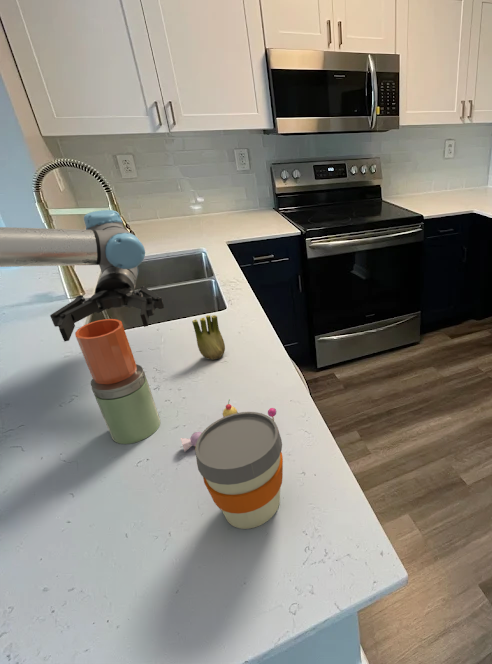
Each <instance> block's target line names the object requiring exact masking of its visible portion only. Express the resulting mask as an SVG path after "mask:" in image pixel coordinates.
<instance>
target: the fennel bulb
mask: <svg viewBox="0 0 492 664" xmlns="http://www.w3.org/2000/svg"><path fill="white" fill-rule="evenodd" d="M191 322H192V323H191V324H192V325H193V329H194V333H195V338H196V344H197V348H198V350H199V353H200V354H201V355H202V357H203V358H204V359H208V360H212V361H214V360H219V359H221V358H222V357H223V355H224V354H225V351H226V345H225V340H224V337H223V335H222V333H221V330H220V327H219V321H218V316H217V315H215V314H213V315H208V314H207V315H205V317H201V318H200V319H199V321H198V320H197V319H196V318H195V319H193V320H192V321H191ZM199 322H200V324H199ZM200 327H201V328H200Z"/></svg>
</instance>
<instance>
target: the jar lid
mask: <svg viewBox="0 0 492 664" xmlns="http://www.w3.org/2000/svg"><path fill="white" fill-rule="evenodd" d="M136 366H137V370H136V372H135V373H134V374H133V375H131V376H130V377H129V378H127V379H125V380H122V381H120V382H117V383H113V384H98V383H96V382H95V381H94V380H93V378H92V379H91V381H90V387H91V390H92V392H93V395H94V394H95V395H96V397H99V398H102V399H113V398H119V397H122V396H125V395H128V394H130V393H132V392H134V391H136V390H137V389H138V388H140V387H141V386H142V385H143V384H144V382H145V379H146V378H147V376H146V373H145V371H144V369H143V367H142V366H141V365H140V364H137V363H136ZM145 376H146V377H145Z"/></svg>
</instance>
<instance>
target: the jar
mask: <svg viewBox="0 0 492 664" xmlns="http://www.w3.org/2000/svg"><path fill="white" fill-rule="evenodd" d="M145 377H146V379H145V382H144V384H143V385H142V386H141V387H140V388H138V389H137V390H136V391H134V392H132V393H130V394H128V395H125V396H122V397H119V398H113V399H102V398H99V397H96V395H95V394H94V393H93V396H94V398H95V400H96V403H97V405H98V408H99V410H100V413H101V415H102V418H103V420H104V422H105V425H106V427H107V429H108V432H109V434H110V437H111V439H112V440H113V441H114V442H115V443H116V444H120V445H130V444H135V443H139V442H142V441H143V440H145V439H147V438H149V437H151V436H152V435H153V434H154V433H156V431H157V430H158V429H159V428H160V426H161V417H160V416H159V415H160V414H159V412H158V409H157V406H156V403H155V400H154V397H153V393H152V391H151V388H150V384H149V381H148V379H147V376H146V375H145Z"/></svg>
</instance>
